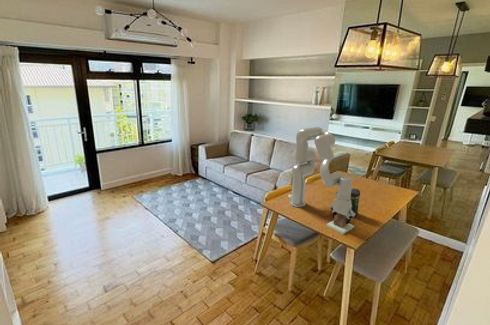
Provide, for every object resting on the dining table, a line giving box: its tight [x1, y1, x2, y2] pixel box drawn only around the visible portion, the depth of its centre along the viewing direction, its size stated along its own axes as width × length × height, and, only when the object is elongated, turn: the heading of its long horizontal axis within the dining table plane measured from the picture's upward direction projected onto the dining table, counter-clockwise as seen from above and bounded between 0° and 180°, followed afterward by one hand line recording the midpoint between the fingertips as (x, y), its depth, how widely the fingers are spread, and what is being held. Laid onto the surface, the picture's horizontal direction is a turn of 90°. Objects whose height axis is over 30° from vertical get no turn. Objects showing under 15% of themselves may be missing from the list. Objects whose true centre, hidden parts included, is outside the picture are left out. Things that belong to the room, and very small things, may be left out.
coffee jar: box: [348, 187, 361, 216], centre depth 178 cm, size 10×8×19 cm
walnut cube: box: [333, 213, 347, 228], centre depth 164 cm, size 6×6×6 cm
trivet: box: [326, 219, 355, 235], centre depth 165 cm, size 12×12×2 cm
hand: (340, 220), depth 164 cm, fingers open, 9 cm apart
